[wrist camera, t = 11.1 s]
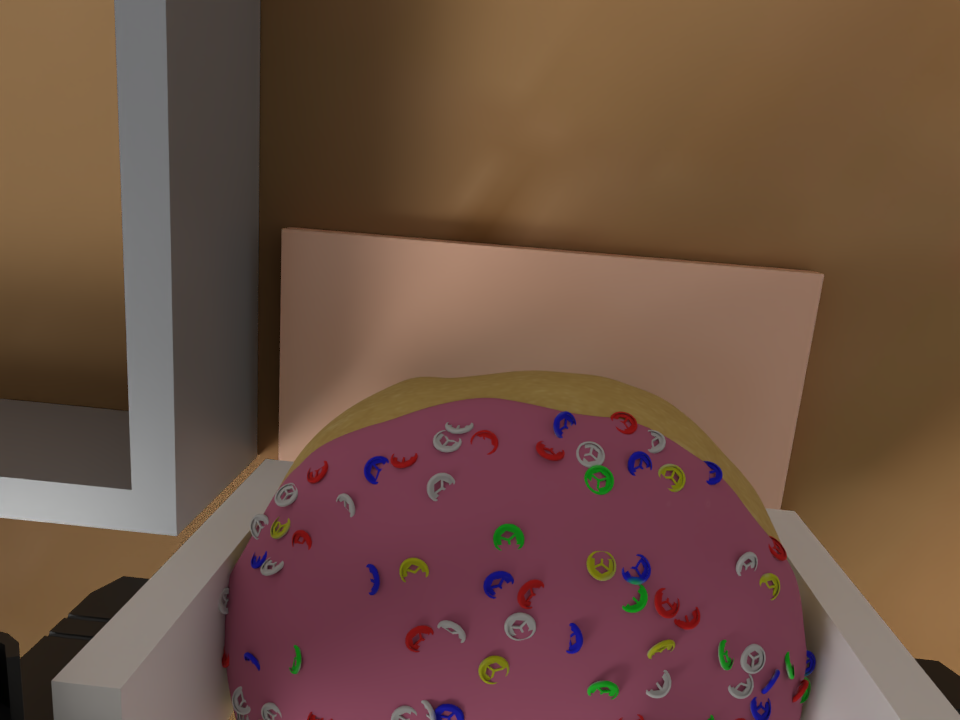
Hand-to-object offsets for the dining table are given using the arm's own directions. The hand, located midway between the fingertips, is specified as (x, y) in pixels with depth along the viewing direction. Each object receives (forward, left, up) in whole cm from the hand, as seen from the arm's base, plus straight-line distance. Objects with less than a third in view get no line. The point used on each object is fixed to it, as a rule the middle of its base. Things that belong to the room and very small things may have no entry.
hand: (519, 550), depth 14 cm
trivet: (0, 0, -3) cm, 3 cm away
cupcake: (0, 0, -2) cm, 2 cm away
